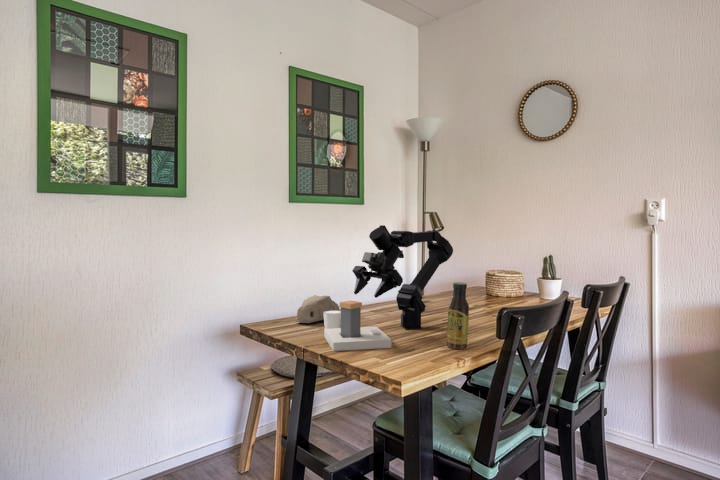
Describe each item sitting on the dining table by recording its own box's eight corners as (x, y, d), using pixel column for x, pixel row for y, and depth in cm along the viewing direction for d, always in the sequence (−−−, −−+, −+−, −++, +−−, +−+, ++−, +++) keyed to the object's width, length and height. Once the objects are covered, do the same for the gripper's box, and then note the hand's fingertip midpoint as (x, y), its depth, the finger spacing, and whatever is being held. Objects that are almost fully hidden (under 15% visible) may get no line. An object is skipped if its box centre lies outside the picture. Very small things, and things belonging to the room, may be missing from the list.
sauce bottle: (442, 347, 138) (443, 282, 138) (454, 343, 143) (455, 281, 142) (461, 351, 134) (462, 284, 133) (472, 347, 138) (473, 283, 137)
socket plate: (376, 333, 155) (376, 324, 155) (391, 347, 138) (391, 336, 138) (324, 336, 151) (324, 326, 151) (333, 351, 134) (333, 340, 133)
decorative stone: (304, 327, 165) (304, 300, 165) (290, 324, 170) (290, 298, 170) (342, 318, 180) (342, 294, 180) (328, 316, 185) (328, 292, 185)
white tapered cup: (340, 334, 154) (340, 314, 154) (320, 333, 155) (320, 313, 155) (344, 329, 160) (345, 310, 160) (326, 328, 162) (326, 309, 162)
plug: (350, 338, 146) (351, 300, 146) (361, 341, 143) (361, 302, 142) (339, 341, 143) (339, 302, 142) (350, 344, 139) (350, 304, 139)
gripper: (356, 242, 156) (332, 277, 149) (397, 244, 143) (373, 282, 136) (371, 263, 162) (349, 297, 155) (412, 267, 149) (390, 304, 142)
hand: (364, 295), depth 147 cm, fingers open, 9 cm apart
